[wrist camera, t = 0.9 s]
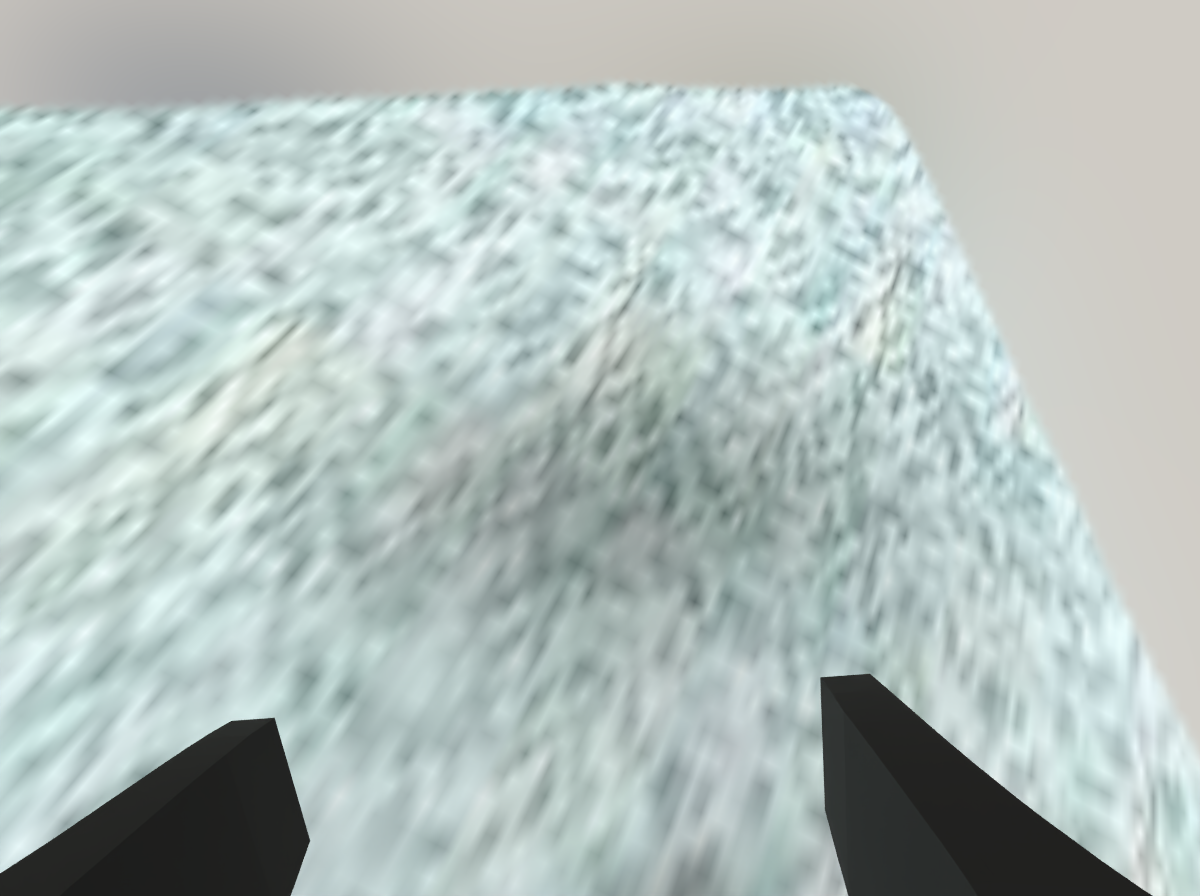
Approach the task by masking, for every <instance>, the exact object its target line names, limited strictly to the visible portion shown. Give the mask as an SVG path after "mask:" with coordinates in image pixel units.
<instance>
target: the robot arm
mask: <svg viewBox="0 0 1200 896" xmlns="http://www.w3.org/2000/svg"><path fill="white" fill-rule="evenodd" d="M820 680H821V709H822V737H823V765H824V793H825V811H826V815H827V819H828V823H829V826H830V830H831V834H832V838H833V842H834V845H835V849H836V853H837V857H838V860H839V864H840V867H841V871H842V874H843V878H844V881H845V885H846V889H847V892H848V896H1152V895H1150V894H1149V893H1147V892H1146V891H1144V890H1143V889H1141V888H1140V887H1138V886H1137V885H1136V884H1134V883H1133V882H1131V881H1130V880H1128V879H1127V878H1125V877H1124V876H1122V875H1121V874H1120V873H1118V872H1117V871H1115V870H1114V869H1112V868H1111V867H1109V866H1108V865H1107V864H1105V863H1104V862H1102V861H1101V860H1100V859H1098V858H1097V857H1096V856H1094V855H1093V854H1091V853H1090V852H1089V851H1087V850H1086V849H1085V848H1083V847H1082V846H1080V845H1079V844H1078V843H1076V842H1075V841H1074V840H1072V839H1071V838H1070V837H1068V836H1067V835H1065V834H1064V833H1063V832H1061V831H1060V830H1059V829H1057V828H1056V827H1055V826H1053V825H1052V824H1050V823H1049V822H1048V821H1046V820H1045V819H1044V818H1042V817H1041V816H1040V815H1038V814H1037V813H1036V812H1035V811H1033V810H1032V809H1031V808H1029V807H1028V806H1027V805H1025V804H1024V803H1023V802H1022V801H1020V800H1019V799H1018V798H1016V797H1015V796H1014V795H1013V794H1011V793H1010V792H1009V791H1008V790H1006V789H1005V788H1004V787H1003V786H1001V785H1000V784H999V783H998V782H997V781H995V780H994V779H993V778H992V777H990V776H989V775H988V774H987V773H985V772H984V771H983V770H982V769H980V768H979V767H978V766H977V765H976V764H974V763H973V762H972V761H971V760H969V759H968V758H967V757H966V756H965V755H963V754H962V753H961V752H960V751H959V750H958V749H956V748H955V747H954V746H953V745H952V744H950V743H949V742H948V741H947V740H946V739H945V738H943V737H942V736H941V735H940V734H939V733H938V732H936V731H935V730H934V729H933V728H932V727H931V726H929V725H928V724H927V723H926V722H925V721H924V720H923V719H921V718H920V717H919V716H918V715H917V714H916V713H915V712H913V711H912V710H911V709H910V708H909V707H908V706H907V705H905V704H904V703H903V702H902V701H901V700H900V699H899V698H897V697H896V696H895V695H894V694H893V693H892V692H890V691H889V690H888V689H887V688H886V687H885V686H883V685H882V684H881V683H880V682H879V681H878V680H876V679H875V678H874V677H873V676H872V675H871V674H861V675H848V676H834V677H821V678H820ZM309 842H310V839H309V835H308V832H307V829H306V825H305V822H304V818H303V815H302V811H301V808H300V804H299V801H298V797H297V794H296V790H295V787H294V784H293V780H292V777H291V773H290V770H289V766H288V763H287V759H286V756H285V752H284V749H283V746H282V742H281V739H280V735H279V732H278V728H277V725H276V721H275V718H266V719H253V720H239V721H231V722H229V723H227V724H226V725H224V726H222V727H220V728H219V729H217V730H215V731H213V732H212V733H210V734H208V735H207V736H205V737H204V738H202V739H200V740H199V741H197V742H196V743H194V744H193V745H191V746H190V747H188V748H186V749H185V750H183V751H182V752H180V753H179V754H177V755H176V756H174V757H173V758H171V759H170V760H168V761H167V762H165V763H164V764H163V765H161V766H160V767H158V768H157V769H155V770H154V771H152V772H151V773H149V774H148V775H146V776H145V777H143V778H142V779H140V780H139V781H138V782H136V783H135V784H133V785H132V786H130V787H129V788H127V789H126V790H124V791H123V792H121V793H120V794H119V795H117V796H116V797H114V798H113V799H111V800H110V801H108V802H107V803H105V804H104V805H102V806H101V807H99V808H98V809H97V810H95V811H94V812H92V813H91V814H89V815H88V816H86V817H85V818H83V819H82V820H80V821H79V822H77V823H76V824H75V825H73V826H72V827H70V828H69V829H67V830H66V831H64V832H63V833H61V834H60V835H58V836H57V837H55V838H54V839H52V840H51V841H50V842H48V843H46V844H45V845H43V846H42V847H40V848H39V849H37V850H36V851H34V852H33V853H31V854H30V855H28V856H26V857H25V858H23V859H22V860H20V861H19V862H17V863H16V864H14V865H13V866H11V867H10V868H8V869H6V870H5V871H3V872H2V873H0V896H290V895H291V893H292V890H293V888H294V885H295V882H296V879H297V876H298V874H299V871H300V868H301V865H302V862H303V859H304V856H305V854H306V851H307V848H308V845H309Z"/></svg>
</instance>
